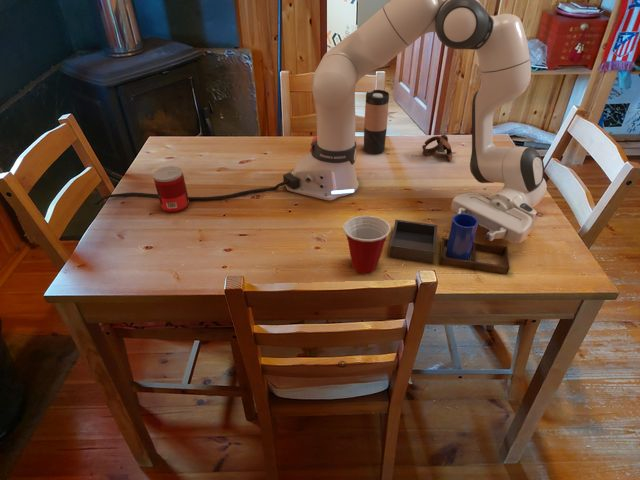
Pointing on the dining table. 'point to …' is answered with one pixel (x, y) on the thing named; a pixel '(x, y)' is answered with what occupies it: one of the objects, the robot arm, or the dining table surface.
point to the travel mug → (375, 121)
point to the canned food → (171, 189)
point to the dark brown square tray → (413, 241)
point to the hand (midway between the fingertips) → (471, 228)
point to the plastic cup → (366, 241)
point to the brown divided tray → (473, 263)
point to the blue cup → (461, 236)
